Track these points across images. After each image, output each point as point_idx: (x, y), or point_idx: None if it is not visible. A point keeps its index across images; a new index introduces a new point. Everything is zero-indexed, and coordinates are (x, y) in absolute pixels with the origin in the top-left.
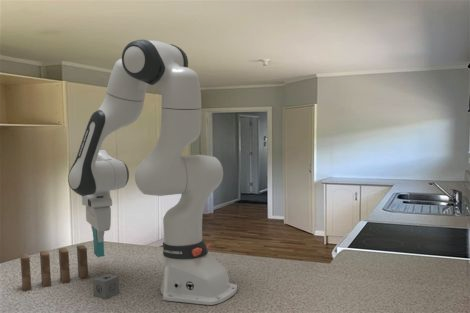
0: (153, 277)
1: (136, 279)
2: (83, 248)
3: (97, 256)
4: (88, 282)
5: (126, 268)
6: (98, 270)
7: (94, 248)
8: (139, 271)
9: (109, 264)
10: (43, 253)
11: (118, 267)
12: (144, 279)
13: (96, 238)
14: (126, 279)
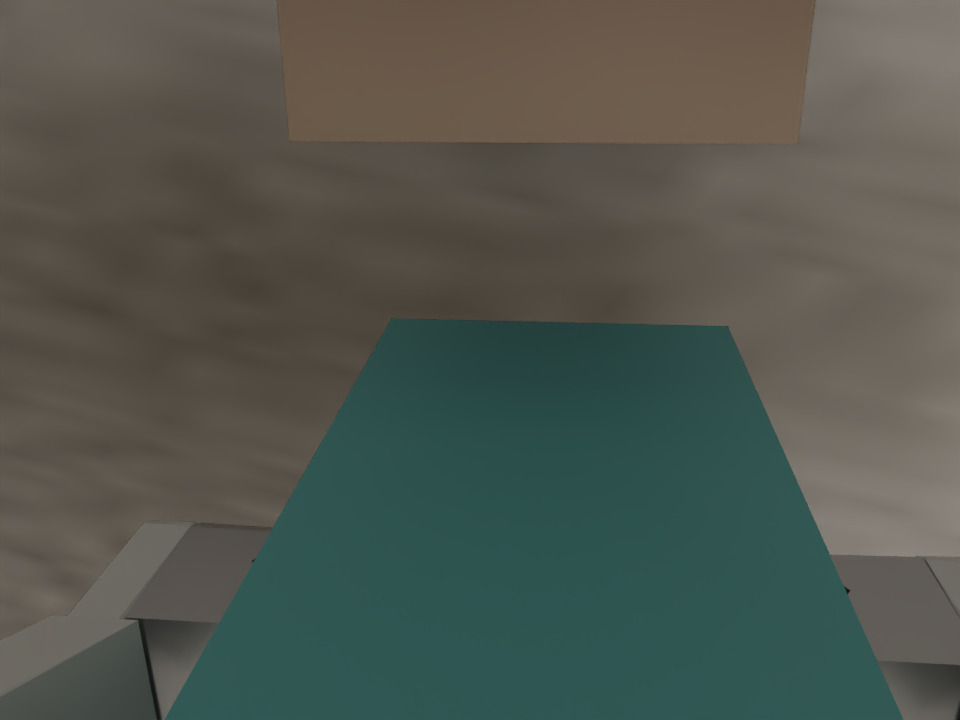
0: None
1: (60, 561)
2: (283, 39)
3: (389, 325)
4: (242, 27)
5: None
6: (729, 282)
7: (671, 377)
8: None
9: (905, 482)
10: None
11: None
12: (21, 622)
13: (258, 556)
14: (113, 478)
